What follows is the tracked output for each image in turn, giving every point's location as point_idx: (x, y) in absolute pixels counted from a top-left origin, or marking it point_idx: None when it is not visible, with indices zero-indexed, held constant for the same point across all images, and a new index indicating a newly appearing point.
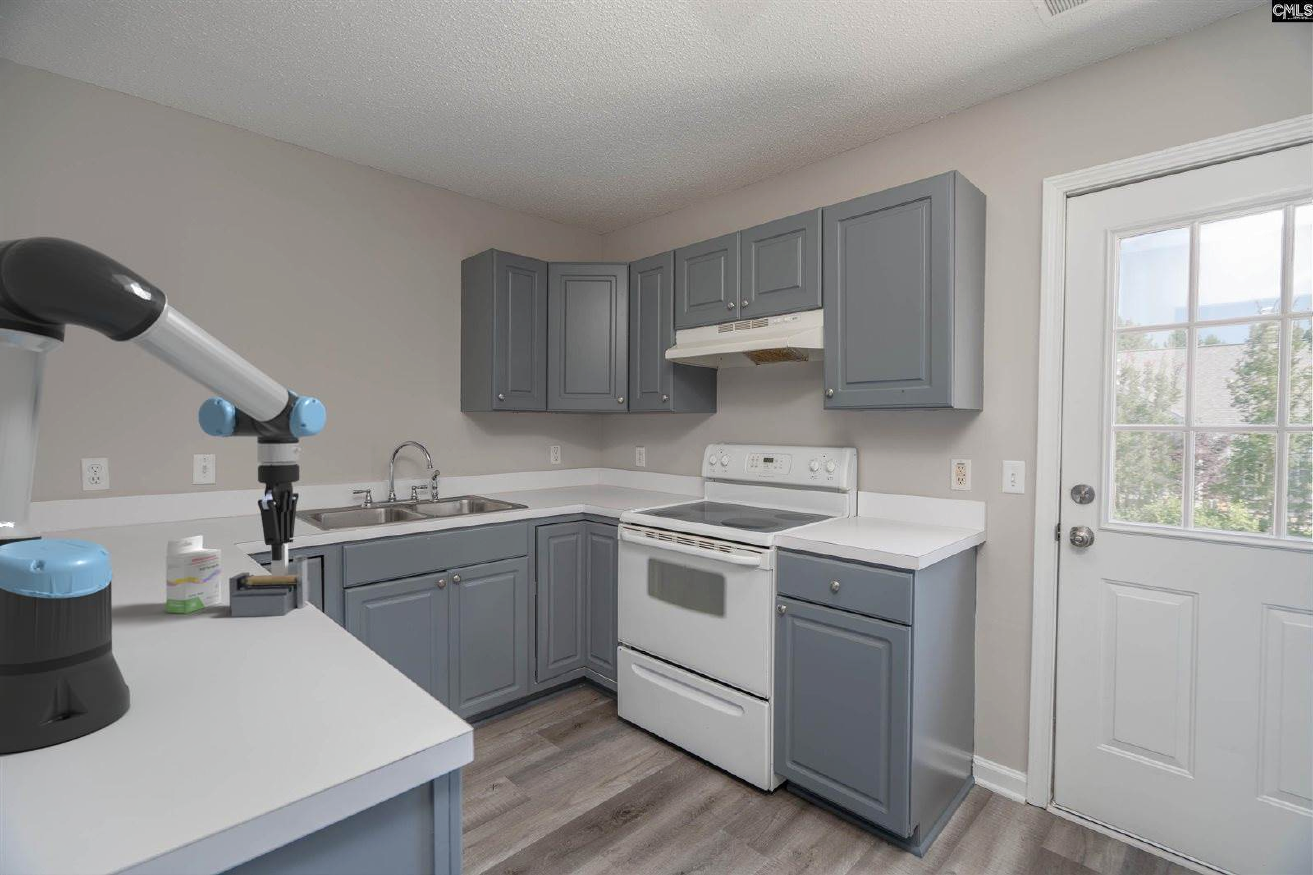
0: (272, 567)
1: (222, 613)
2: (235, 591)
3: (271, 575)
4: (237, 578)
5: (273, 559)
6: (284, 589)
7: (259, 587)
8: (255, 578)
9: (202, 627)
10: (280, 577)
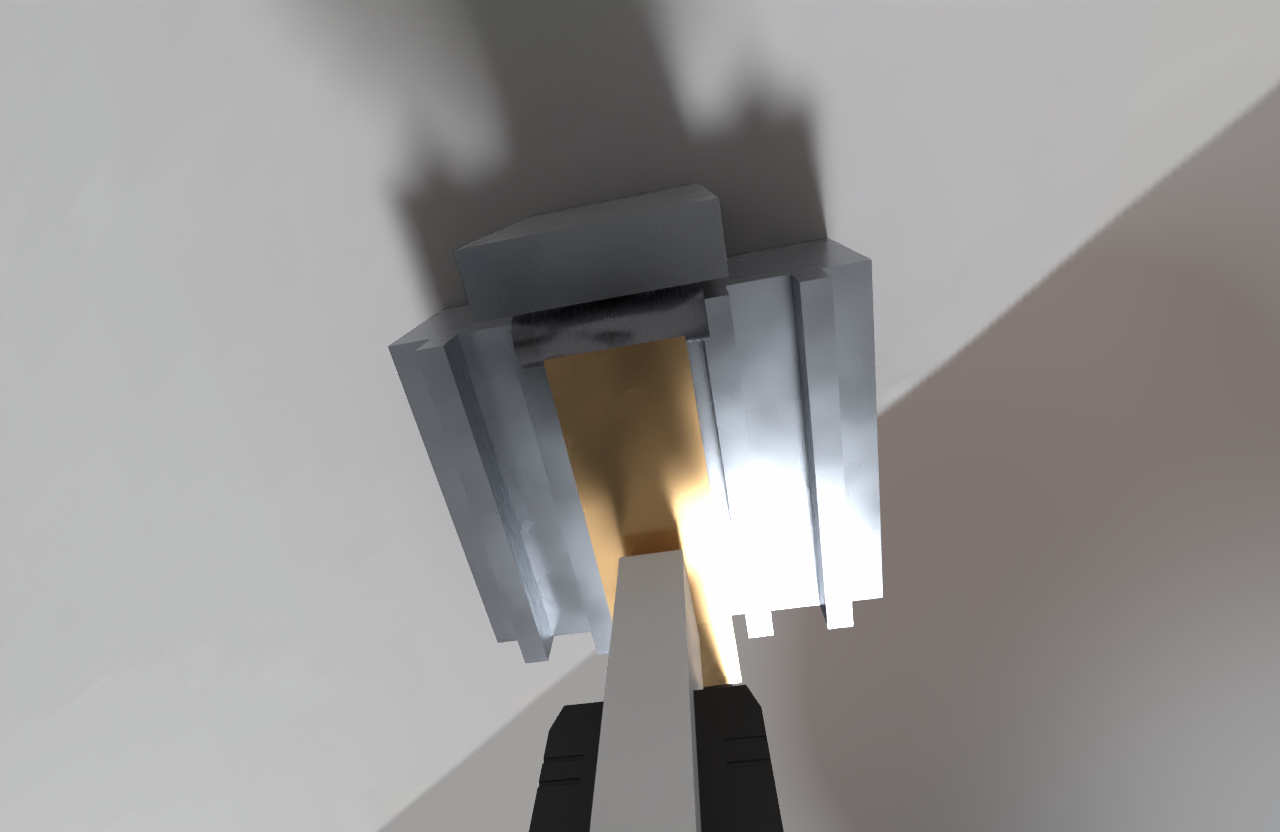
0: (616, 618)
1: (500, 182)
2: (421, 355)
3: (619, 559)
4: (494, 317)
5: (560, 728)
6: (522, 651)
7: (545, 471)
8: (581, 435)
9: (240, 279)
10: None
